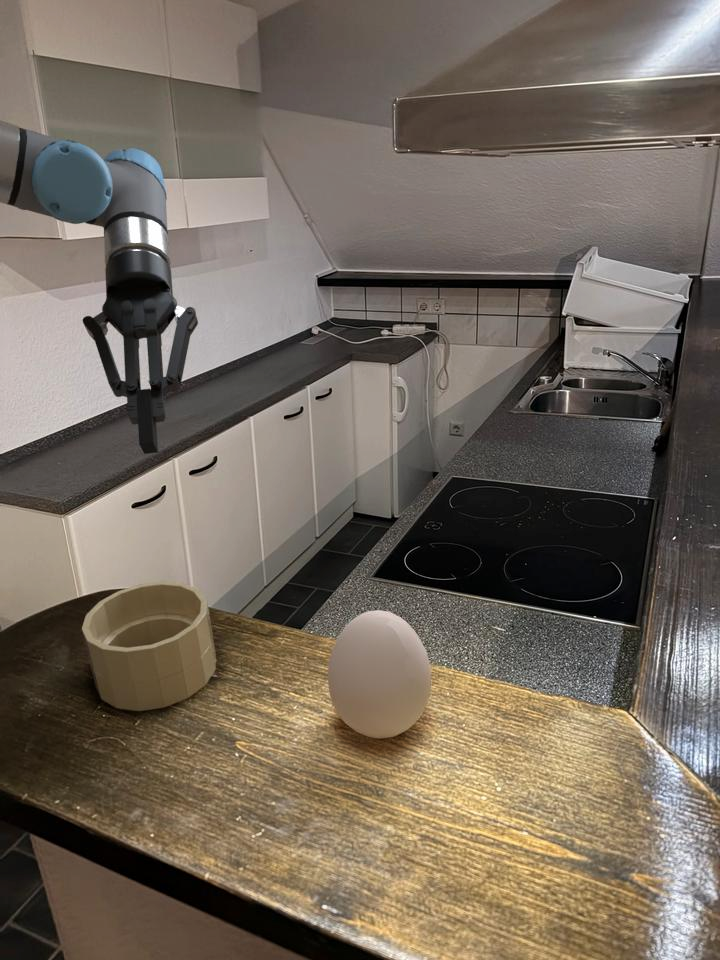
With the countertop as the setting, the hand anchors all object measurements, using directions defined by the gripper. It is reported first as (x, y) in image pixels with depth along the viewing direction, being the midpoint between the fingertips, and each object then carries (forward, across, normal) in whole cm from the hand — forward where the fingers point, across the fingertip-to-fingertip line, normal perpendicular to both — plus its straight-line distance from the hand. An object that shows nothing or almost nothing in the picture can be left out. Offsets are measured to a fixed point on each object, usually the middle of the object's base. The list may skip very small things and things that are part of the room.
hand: (148, 448), depth 82 cm
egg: (+33, -20, +8) cm, 39 cm away
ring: (+25, 0, 0) cm, 25 cm away
